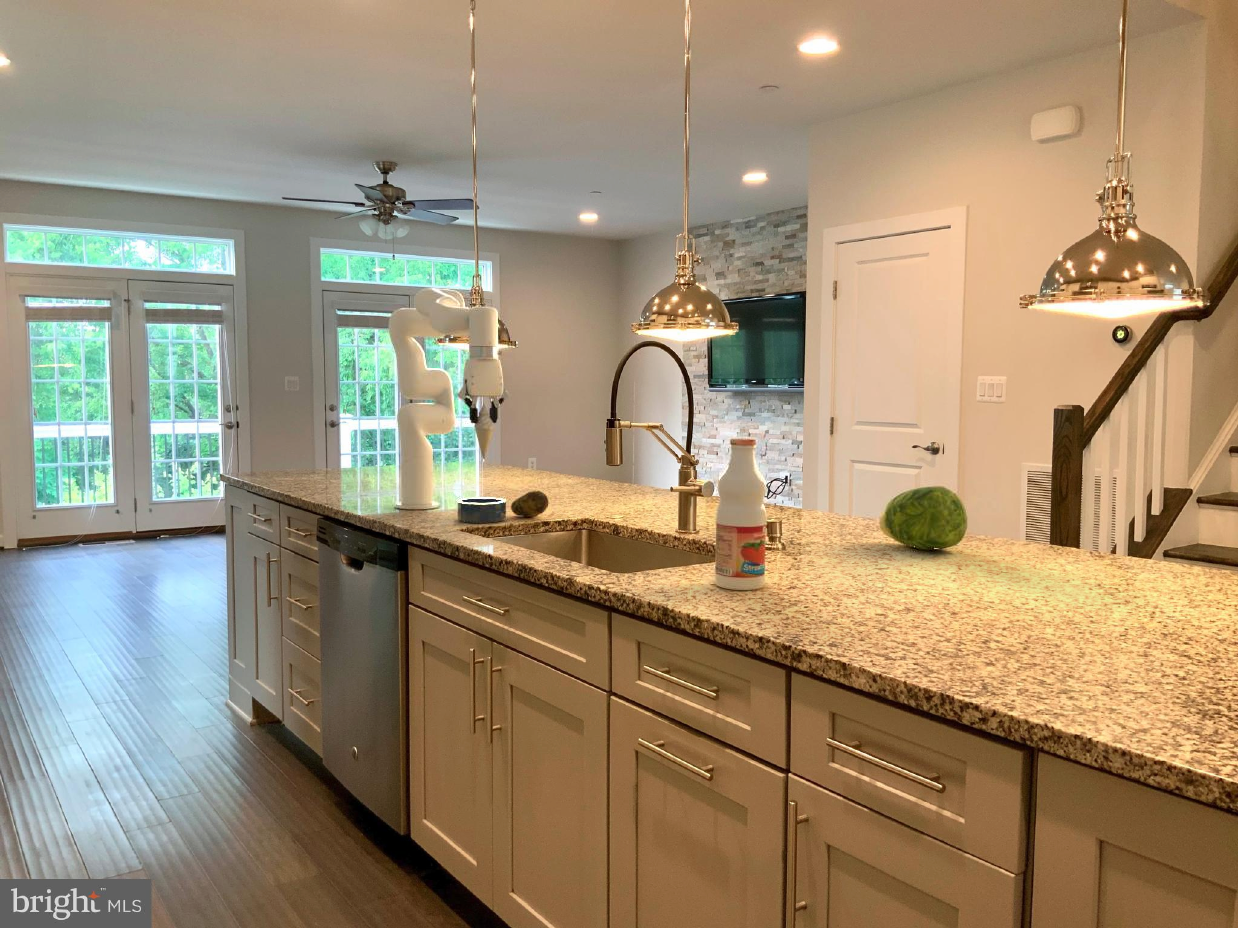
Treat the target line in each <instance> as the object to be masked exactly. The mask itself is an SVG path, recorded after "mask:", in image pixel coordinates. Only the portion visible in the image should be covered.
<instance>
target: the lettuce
mask: <svg viewBox="0 0 1238 928" xmlns="http://www.w3.org/2000/svg"><path fill="white" fill-rule="evenodd" d="M878 527H879V529H880V531H881V532H882V533H883V535H885V536H886V537H888V538H891V539H893V540H894V541H896V542H897V543H900V544H902V543H903V544H902V545H903V546H907V547H910V548H913V549H918V550H922V551H925V552H927V551H937V550H943V549H947V548H952V547H955V546H957V545H958V544H959V543H960V542H961V541H962V540H963V539H964V537H965V535H966V533H967V529H968V515H967V510H966V507H965V506H964V503H963V501H962V499H961V498H960V497H959V496H958V494H956V493H955V492H954V491H952V490H951V489H948V488H947V487H945V486H941V485H940V486H938V485H935V486H933V485H932V486H922V487H917V488H914V489H909V490H907V491H903V492H902V493H899V494H898V495H896V496H894V497H893V498H892V499H891V500H889V501H888V502H887V505H886V506H885V508H884V509H883V510H882V512H881V514H880V516H879V518H878ZM905 544H906V545H905ZM910 545H911V546H910ZM914 546H915V547H914ZM934 548H939V549H934Z"/></svg>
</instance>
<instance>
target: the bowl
mask: <svg viewBox="0 0 1238 928" xmlns="http://www.w3.org/2000/svg"><path fill="white" fill-rule="evenodd" d="M456 507H457V508H456V510H457V512H456V513H457V514H456V515H457V516H456V517H457V518H456V519H457V520H459V521H462V522H464V523H469V524H493V523H498V522H502V521H504V520H505V519H506V518H507V500H506V499H503V498H498V497H497V498H496V497H470V498H461V499H458V500H457V503H456Z"/></svg>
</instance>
